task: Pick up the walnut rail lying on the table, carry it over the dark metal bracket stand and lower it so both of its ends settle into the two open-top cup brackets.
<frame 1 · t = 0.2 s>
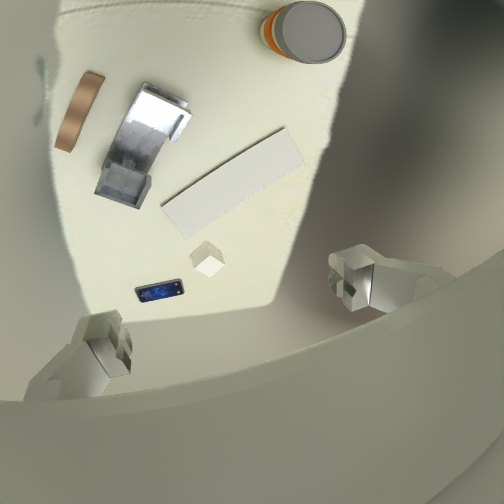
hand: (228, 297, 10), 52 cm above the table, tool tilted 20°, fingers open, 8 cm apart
smartphone: (159, 289, 82), on the table
rail: (80, 109, 42), on the table
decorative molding: (230, 178, 65), on the table
white cube: (205, 251, 78), on the table
reusable coffee cup: (279, 32, 43), on the table
bracket stand: (141, 134, 50), on the table
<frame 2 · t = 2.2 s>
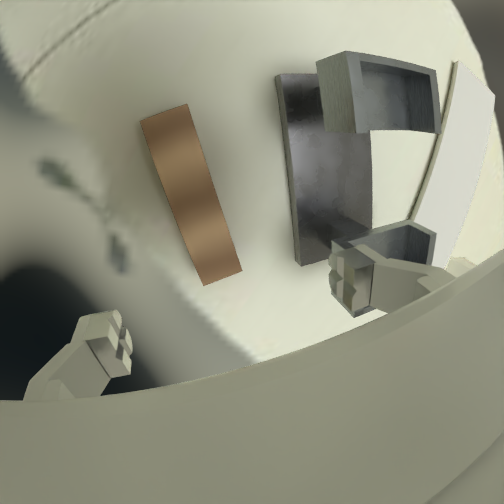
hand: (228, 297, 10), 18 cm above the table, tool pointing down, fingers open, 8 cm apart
rail: (190, 192, 26), on the table
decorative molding: (444, 160, 34), on the table
white cube: (451, 270, 45), on the table
bracket stand: (328, 167, 29), on the table
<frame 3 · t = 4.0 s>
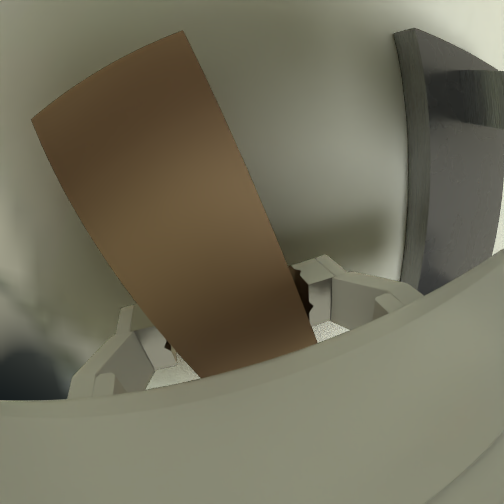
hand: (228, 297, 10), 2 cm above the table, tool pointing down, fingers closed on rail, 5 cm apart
rail: (219, 273, 12), on the table, touching gripper
bracket stand: (455, 211, 14), on the table
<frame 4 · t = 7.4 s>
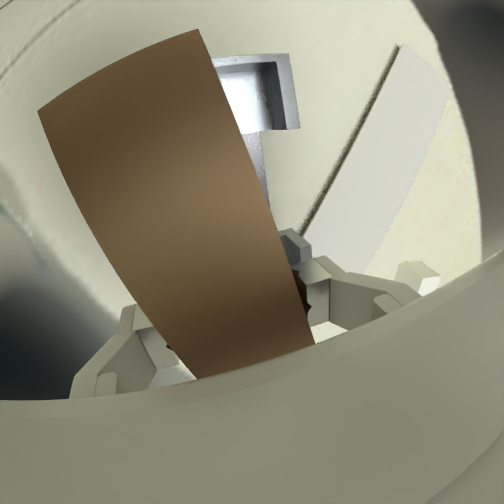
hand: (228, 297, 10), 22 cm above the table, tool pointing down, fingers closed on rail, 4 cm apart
rail: (220, 276, 11), point 20 cm above the table, touching gripper
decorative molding: (375, 150, 34), on the table
white cube: (404, 276, 45), on the table
bracket stand: (216, 176, 29), on the table
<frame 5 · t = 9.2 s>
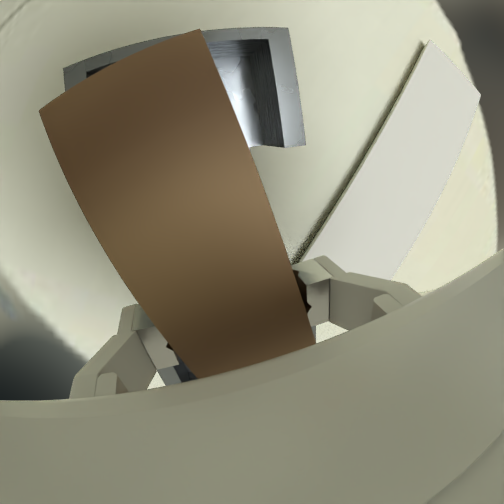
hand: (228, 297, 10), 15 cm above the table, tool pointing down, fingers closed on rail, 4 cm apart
rail: (221, 276, 11), point 13 cm above the table, touching gripper
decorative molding: (392, 164, 28), on the table
bracket stand: (195, 202, 23), on the table
when the fingers open (11 cm above the table, at t = 10.7 s): rail stays where it is, resting on bracket stand.
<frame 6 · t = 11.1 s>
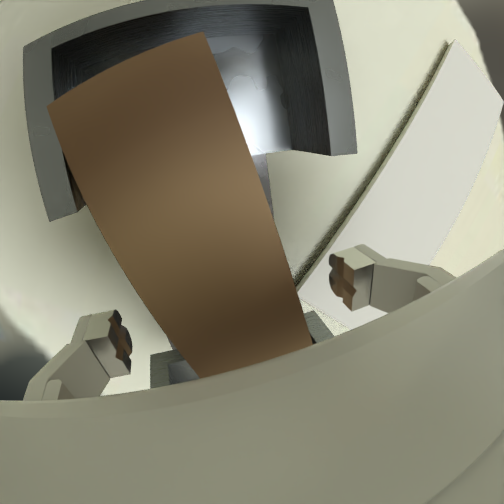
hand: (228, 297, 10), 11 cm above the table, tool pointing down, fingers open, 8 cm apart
rail: (219, 272, 12), point 9 cm above the table, touching bracket stand
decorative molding: (413, 167, 24), on the table
bracket stand: (199, 214, 20), on the table
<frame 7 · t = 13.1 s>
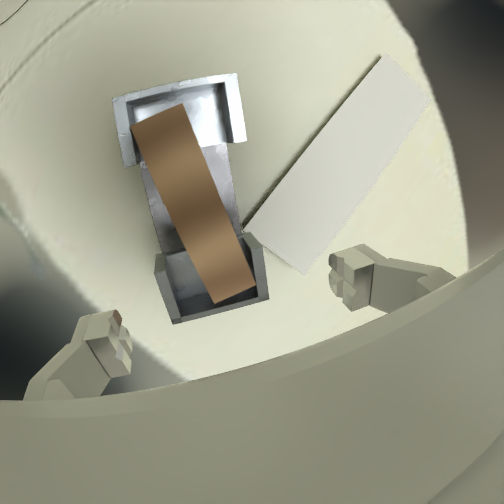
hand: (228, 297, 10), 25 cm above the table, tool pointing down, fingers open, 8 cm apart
rail: (193, 200, 24), point 9 cm above the table, touching bracket stand
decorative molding: (341, 150, 36), on the table
bracket stand: (188, 184, 32), on the table
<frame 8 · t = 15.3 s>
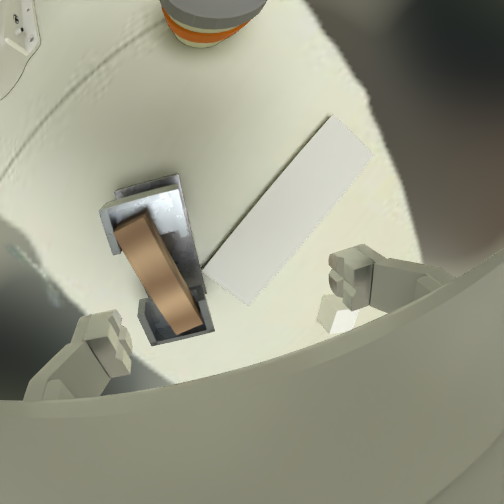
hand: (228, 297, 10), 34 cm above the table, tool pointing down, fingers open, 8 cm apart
rail: (160, 268, 35), point 9 cm above the table, touching bracket stand
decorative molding: (285, 206, 47), on the table
white cube: (330, 305, 59), on the table
reusable coffee cup: (201, 24, 31), on the table
bracket stand: (162, 243, 43), on the table
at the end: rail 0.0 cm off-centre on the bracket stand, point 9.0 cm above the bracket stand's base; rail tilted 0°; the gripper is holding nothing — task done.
